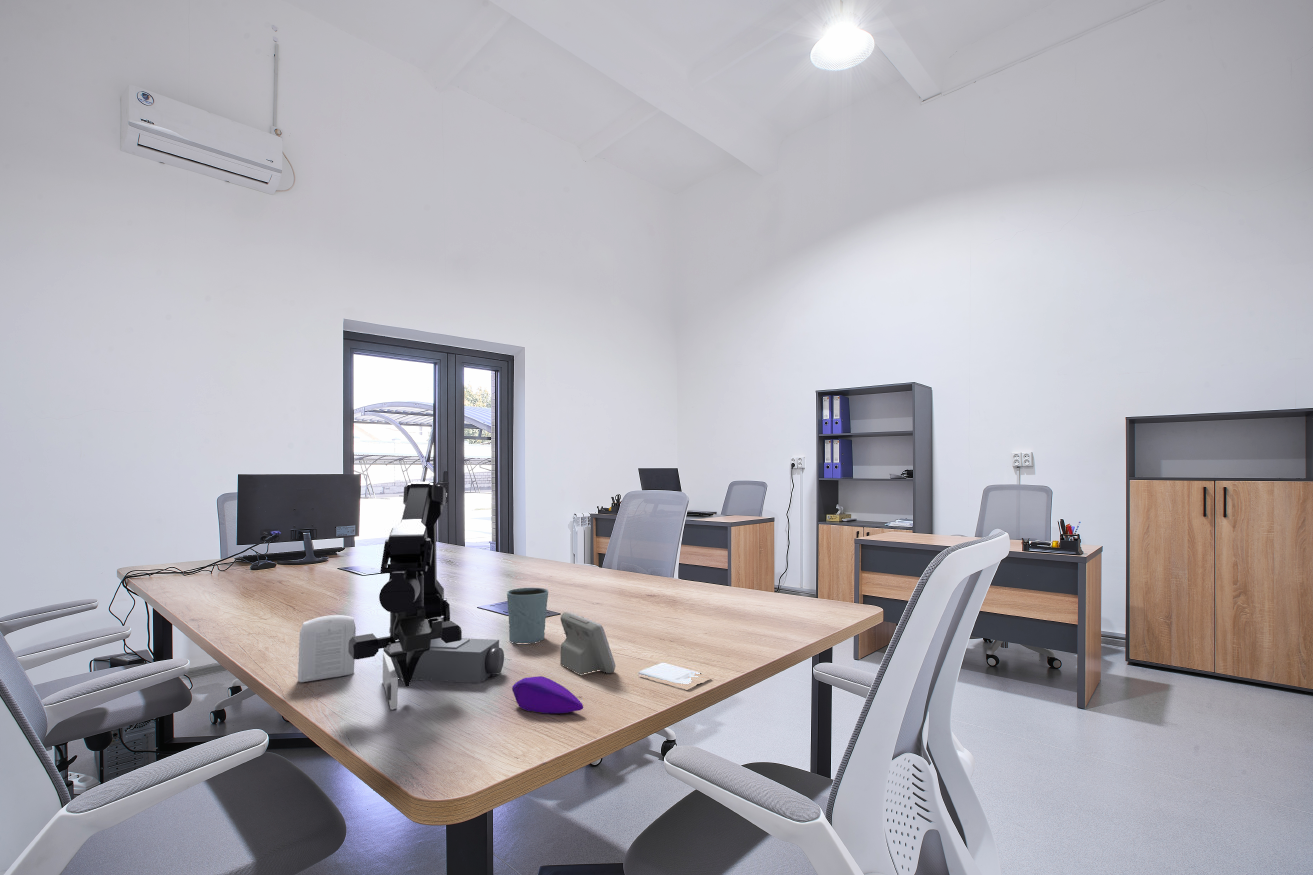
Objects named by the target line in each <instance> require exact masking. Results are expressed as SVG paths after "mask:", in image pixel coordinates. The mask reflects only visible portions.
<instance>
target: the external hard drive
mask: <svg viewBox="0 0 1313 875" xmlns="http://www.w3.org/2000/svg"><path fill="white" fill-rule="evenodd" d="M698 672H699V671H696V670H692V669H688V668H685V667H682V666H677V665H673V664H671V663H666V662H659V663H657V664H655V665H652V666H650V667H647V668H644V669H642V670H641V669H640V670H639V671H638V675H639V674H641V675H645V676H648V677H653V678H657V679H661V680H667V681H670V682H674V683H681V684H682V683H683V684H689V683H691V681H692V680H691V677H698V676H694V675H695V673H696V674H700V673H701V672H699V673H698ZM688 677H689V678H688Z"/></svg>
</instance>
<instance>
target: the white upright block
mask: <svg viewBox="0 0 1313 875" xmlns="http://www.w3.org/2000/svg"><path fill="white" fill-rule="evenodd" d="M301 625H302V626H301V627H300V628H301V629H300V631H299V639H298V640H299V643H298V644H299V645H298V646H299V647H298V662H297V664H298V667H297V681H298V683H306V682H311V681H318V680H323V679H331V678H337V677H338V678H339V677H343V676H350V675H353V674H354V673H355V660H356V659H353V658H352V656H351V655H350V654H349V652H348V648H349V640H350V639H351V638H352V637H354V636H356V634H357V633H356V632H357V630H356V629H357V627H356V622H355V618H354V617H353V616H349V615H343V614H342V615H341V614H331V615H330V614H329V615H324V616H317V617H315V618H313V619H308V620H306V621H304V622H302V624H301Z"/></svg>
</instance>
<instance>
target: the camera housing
mask: <svg viewBox="0 0 1313 875" xmlns="http://www.w3.org/2000/svg"><path fill="white" fill-rule="evenodd" d="M504 653H505V652H504V650H503V648H502V647H500V639H492V638H490V639H489V638H467V637H465V638H462V640H460V641H456V642H450V643H445V642H444V641H443V640H441V638H437V639H432V640H431V645H430V650H429V651H425V652H424V653H423V654H422V656H421V657H420V659H419V661H418V663H417V665H416V668H415V671H414V673H413V676H412V679H411V680H413V681H415V680H416V681H417V680H418V681H419V680H420V681H433V682H434V681H435V682H436V681H437V682H457V683H472V684H473V683H474V684H476V683H477V684H481V683H482V682H484V681H485V680H486V679H487V678H488V677H490V676H491V675H499V674H500V673H501V672H502V669H503V667H504V662H505V654H504ZM391 660H392V663H393V666H394V668H395V671H396V674H397V677H398V678H400V680H402V678H401V675H400V673H399V670H398V667H397V665H396V663H395V661H394V659H393V657H391Z"/></svg>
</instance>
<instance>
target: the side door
mask: <svg viewBox="0 0 1313 875" xmlns="http://www.w3.org/2000/svg"><path fill="white" fill-rule="evenodd" d="M398 680H399V679H398V677H397V674H396V671H395V668H394V666H393V663H392V660H391V657H389V656H388V655H387V654H386V653H385V652H382V683H383V686H384V690H385V693H386V695H385V698H386V701H388V704H389V708H390V710H391V711H392V710H396V709H398V686H399V684H398V683H399V681H398Z"/></svg>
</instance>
